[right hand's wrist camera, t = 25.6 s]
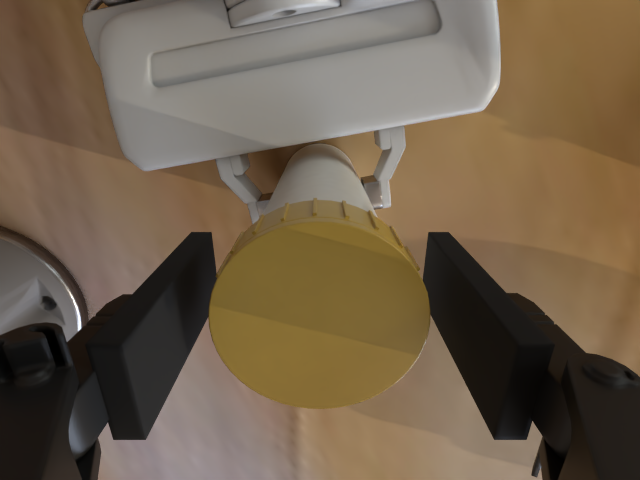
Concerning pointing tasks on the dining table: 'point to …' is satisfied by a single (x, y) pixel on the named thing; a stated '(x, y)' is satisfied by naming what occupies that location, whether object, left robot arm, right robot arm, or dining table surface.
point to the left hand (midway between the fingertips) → (322, 215)
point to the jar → (319, 179)
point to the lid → (319, 306)
